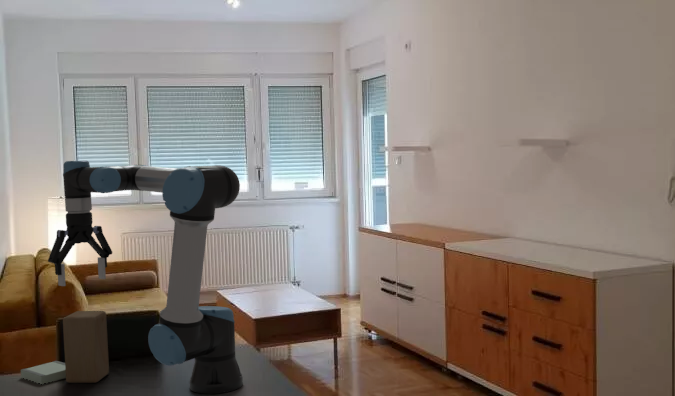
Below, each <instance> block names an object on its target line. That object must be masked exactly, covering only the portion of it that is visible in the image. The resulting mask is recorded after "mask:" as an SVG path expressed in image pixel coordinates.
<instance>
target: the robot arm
mask: <svg viewBox="0 0 675 396" xmlns="http://www.w3.org/2000/svg"><path fill="white" fill-rule="evenodd" d="M62 168H63V173H62V176H63V189H64V191H63V192H64V207H65V212H67V213H66V214H65V223H66V224H65V225H66V230H63V229H58V230H56V238H55V241H54V243H53V246H52V248H51V251H50V254H49V256H48V259H47V262H48V263H51V264H54V273H55V275H57V285H58V286H59V287H60V286H61V287H66V286H67V284H66V270H65V269H66V267H65V263H63V262H64V260H65V259H66V257H67V256H68V254H69V253H70V251H71V249H72V248H73V247H74V246H75V244H81V243H84V244H85V243H88V244H89V246H90V247H91V248H92V249H93V250H94V251H95V253H97V254H98V255H99V257H97V272H98V279H99V280H100V279H101V280H106V278H107V277H106V275H107V273H106V268H107V267H108V258H109V257H110V255H112V254H113V250H112V249H111V247H110V245H109V243H108V241H107V239H106V237H105V235H104V233H103V228H102V226H101V225H94V226H93V213H92V210H93V206H92V193H98V194H99V193H100V194H110V193H114V192H123V191H141V192H153V193H161V194H162V200H163V201H164V206H165V207H166V208H167V209H168V210H169V216H170V218H171V219H172V220H173V221H174V228H173V236H172V238H173V239H172V244H171V245H172V246H171V247H172V248H171V256H170V257H171V259H170V266H169V267H170V268H169V276H168V288H167V296H166V297H167V298H166V306H165V307H164V308H162V309H161V310H160V311H159V319H158V323H157V324H154V326H152V327H150V330H149V331H148V335H147V336H148V337H147V338H148V339H147V340H148V342H147V343H148V347H149V349H150V352H151V353H152V354H153V357H154V358H155V359H156V360H157V361H158V362H159V363H161V364H162V365H165V366H169V367H170V366H174V365H182V364H183V363H185V362H189V361H191V360H193V359H194V362H193V367H192V371H191V376H190V378H189V389H190V390H191V391H192V392H194V393H196V394H197V393H198V394H205V395H207V394H208V395H215V394H217V395H218V394H223V393H229V392H233V391H236V390H238V389H240V388H241V387H242V386H243V384H244V382H243V381H244V380H243V374H242V373H241V370H240V366H239V364H238V361H237V358H236V357H237V356H236V331H235V329H236V328H235V327H236V326H235V323H236V321H235V318H234V311H233V309H231V308H230V307H225V306H217V305H216V306H215V305H214V306H213V305H206V306H205V305H203V306H202V305H201V306H200V297H201V296H200V295H201V287H202V279H203V278H202V277H203V270H204V260H205V252H206V243H207V234H208V225H209V224H211V223H212V222H213V221H214V220H215V213H216V209H221V208H224V207H228V206H229V205H231V204H232V203H233V202H235V200H236V199H237V198H238V196H239V193H240V190H241V184H240V180H239V177H238V175H237V174H236V172H235V171H234V170H233V169H232V168H230V167H228V166H224V165H217V164H215V165H201V166H200V165H199V166H198V165H195V166H191V165H188V166H184V167H179V168H176V167H162V166H150V165H146V164H133V165H114V166H113V165H112V166H90V162H89V161H88V160H66V161H64V162H63V167H62ZM93 234H94V235H95V237H96V238H94V236H93ZM66 237H67V239H66ZM65 239H66V240H65ZM96 239H97V241H98V242H97V241H96ZM64 241H65V243H64ZM63 244H64V245H63Z"/></svg>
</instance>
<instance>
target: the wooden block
mask: <svg viewBox="0 0 675 396" xmlns="http://www.w3.org/2000/svg"><path fill="white" fill-rule="evenodd" d="M107 325H108V323H107V312H106V311H105V310H77V311H75V312H73V313H71V314H69V315H67V316H65V317H63V318H62V329H63V330H62V332H63V349H64V350H63V351H64V363H65V369H66V378H65V381H66V383H69V384H75V383H77V384H79V383H80V384H81V383H83V384H85V383H87V384H88V383H89V384H90V383H91V384H92V383H95V384H96V383H98V382H99V381H100V380H102V379H103V378H105V377H106V376H107V375H108V374H109V373H110V366H109V348H108V347H109V346H108V345H109V344H108V328H107V327H108V326H107Z"/></svg>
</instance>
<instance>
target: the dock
mask: <svg viewBox="0 0 675 396" xmlns="http://www.w3.org/2000/svg"><path fill="white" fill-rule="evenodd" d="M20 378H21V379H23V378H24V379H23V380H26V379H28V380H27V381H29V380H31V381H30V382H32V381H34V382H33V383H35V382H37V383H36V384H38V383H40V384H39V385H41V384H42V385H45V384H44V383H46V384H49V383H48V382H50V383H52V381H53V382H56V381H59V380H64V379H66V369H65V362H62V361H58V360H54V361H52V362H51V361H50V362H46V363H42V364H39V365H38V364H37V365H35V366H32V367H28V368H22V369H20Z"/></svg>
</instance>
